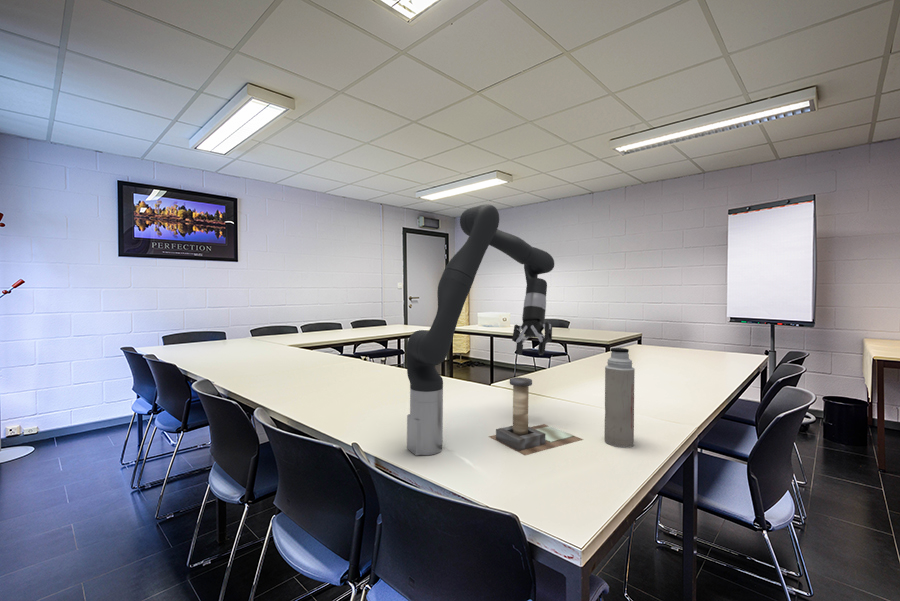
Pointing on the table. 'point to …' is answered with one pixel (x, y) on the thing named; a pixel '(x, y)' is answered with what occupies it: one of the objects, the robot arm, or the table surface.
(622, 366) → the thermos bottle
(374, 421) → the table surface
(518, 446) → the board
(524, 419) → the wheel post
